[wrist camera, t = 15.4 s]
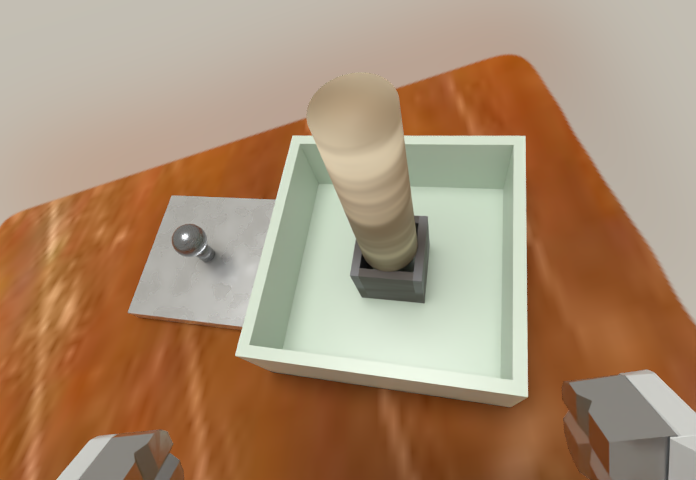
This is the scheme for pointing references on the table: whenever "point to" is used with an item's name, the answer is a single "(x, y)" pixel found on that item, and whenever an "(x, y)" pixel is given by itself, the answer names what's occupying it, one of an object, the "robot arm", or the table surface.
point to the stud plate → (204, 261)
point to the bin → (442, 276)
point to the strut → (372, 183)
